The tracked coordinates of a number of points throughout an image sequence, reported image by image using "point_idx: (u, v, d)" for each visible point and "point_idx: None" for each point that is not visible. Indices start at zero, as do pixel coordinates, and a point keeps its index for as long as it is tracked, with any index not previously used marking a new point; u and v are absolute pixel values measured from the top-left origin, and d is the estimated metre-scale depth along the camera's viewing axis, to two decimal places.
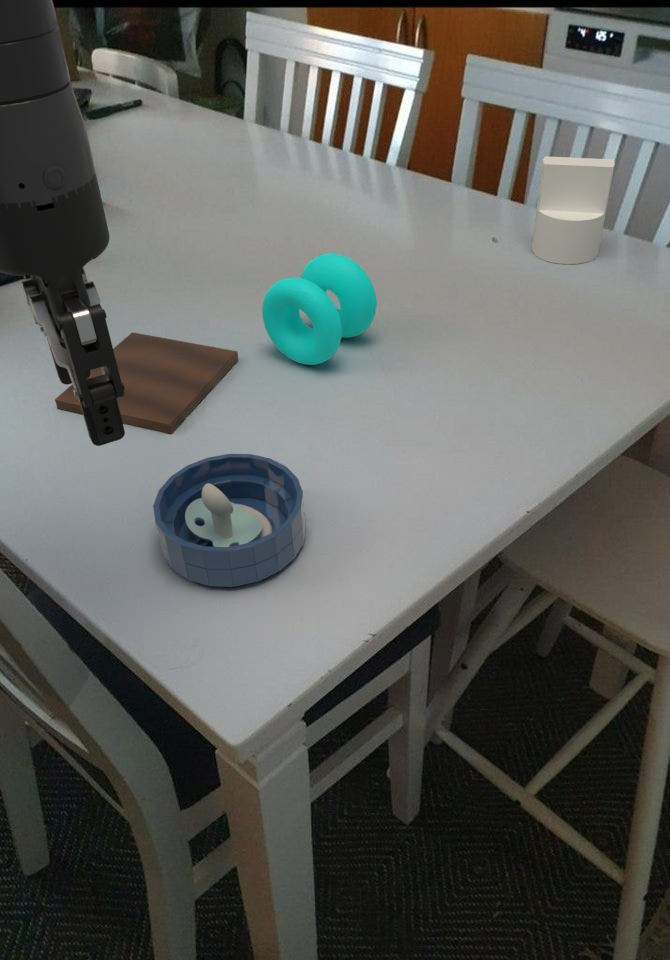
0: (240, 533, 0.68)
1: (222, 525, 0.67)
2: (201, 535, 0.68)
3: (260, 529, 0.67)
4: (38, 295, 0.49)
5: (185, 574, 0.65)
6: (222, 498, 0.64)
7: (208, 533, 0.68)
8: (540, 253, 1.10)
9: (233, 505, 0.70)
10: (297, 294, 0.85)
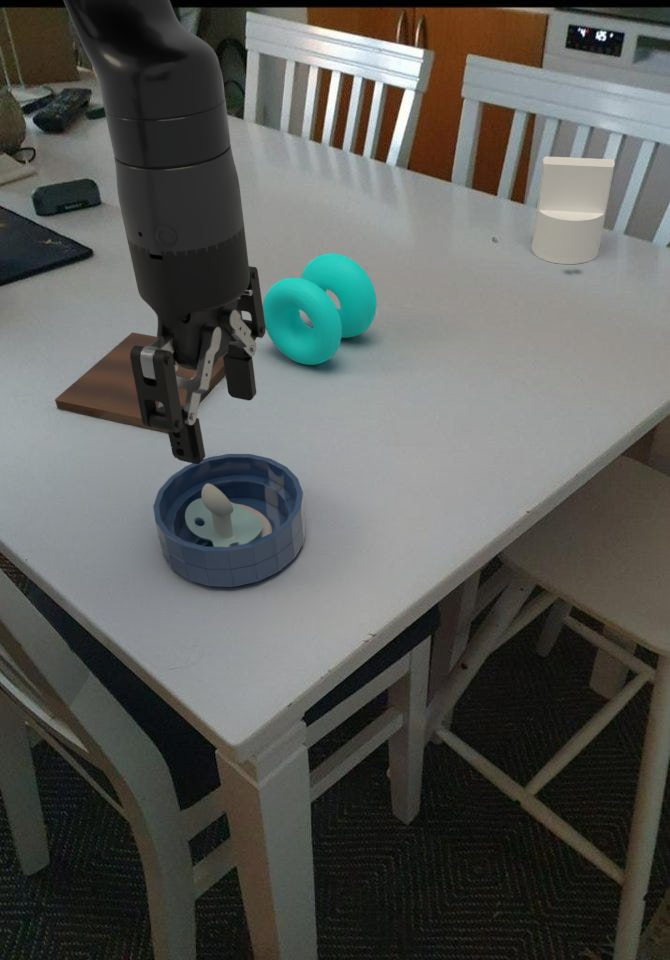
0: (240, 533, 0.68)
1: (222, 525, 0.67)
2: (201, 535, 0.68)
3: (260, 529, 0.67)
4: None
5: (185, 574, 0.65)
6: (222, 498, 0.64)
7: (208, 533, 0.68)
8: (540, 253, 1.10)
9: (233, 505, 0.70)
10: (297, 294, 0.85)
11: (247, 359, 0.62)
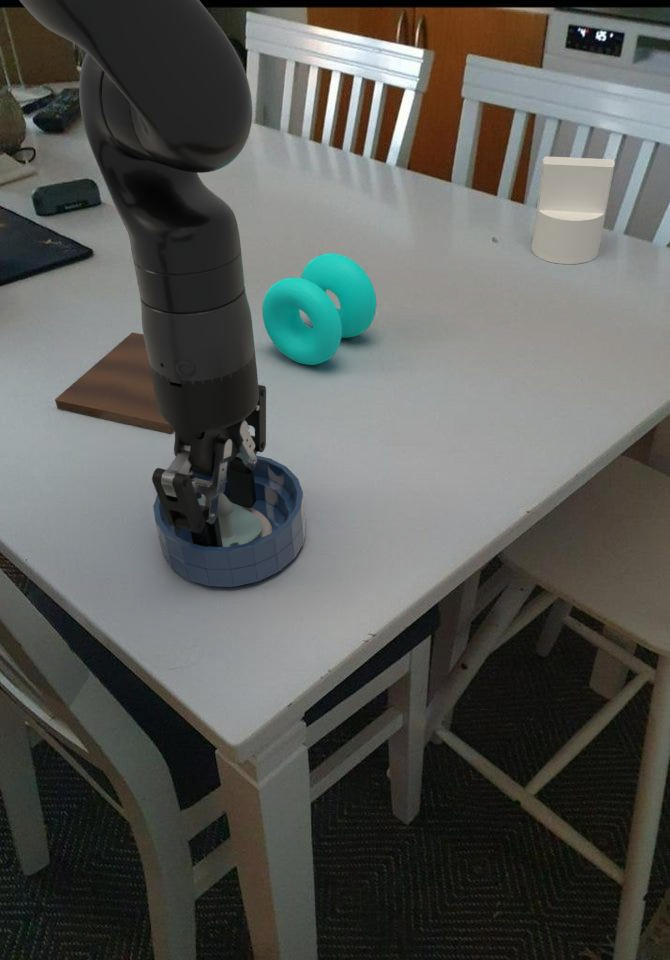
0: (240, 533, 0.68)
1: (222, 525, 0.67)
2: None
3: (260, 529, 0.67)
4: None
5: (185, 574, 0.65)
6: (222, 498, 0.64)
7: None
8: (540, 253, 1.10)
9: (233, 505, 0.70)
10: (297, 294, 0.85)
11: (248, 473, 0.67)
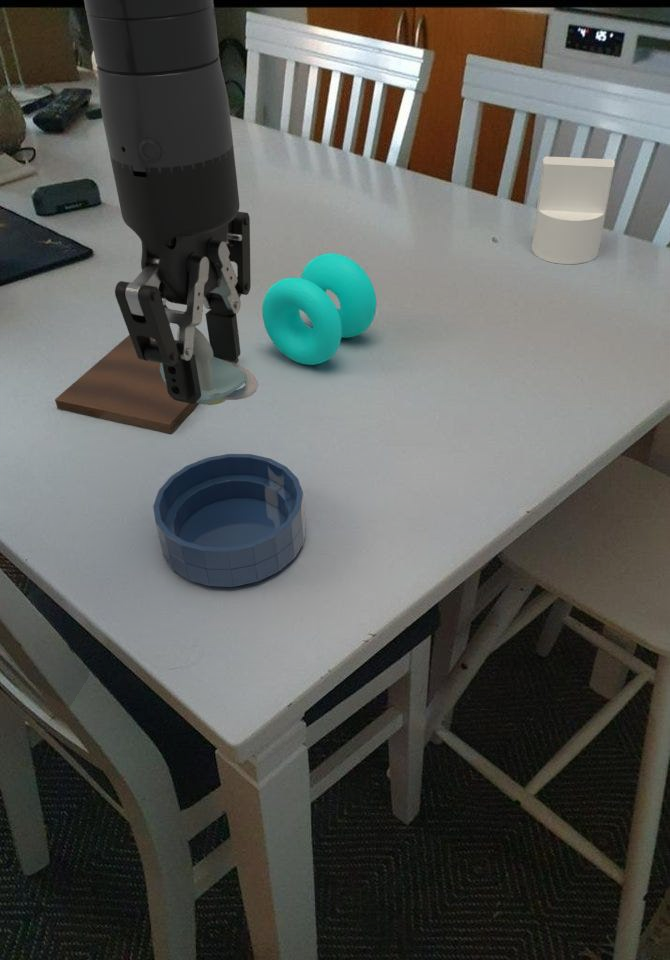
0: (222, 385, 0.60)
1: (201, 374, 0.59)
2: None
3: (244, 378, 0.59)
4: None
5: (185, 574, 0.65)
6: (200, 337, 0.57)
7: None
8: (540, 253, 1.10)
9: (214, 359, 0.62)
10: (297, 294, 0.85)
11: (231, 316, 0.60)
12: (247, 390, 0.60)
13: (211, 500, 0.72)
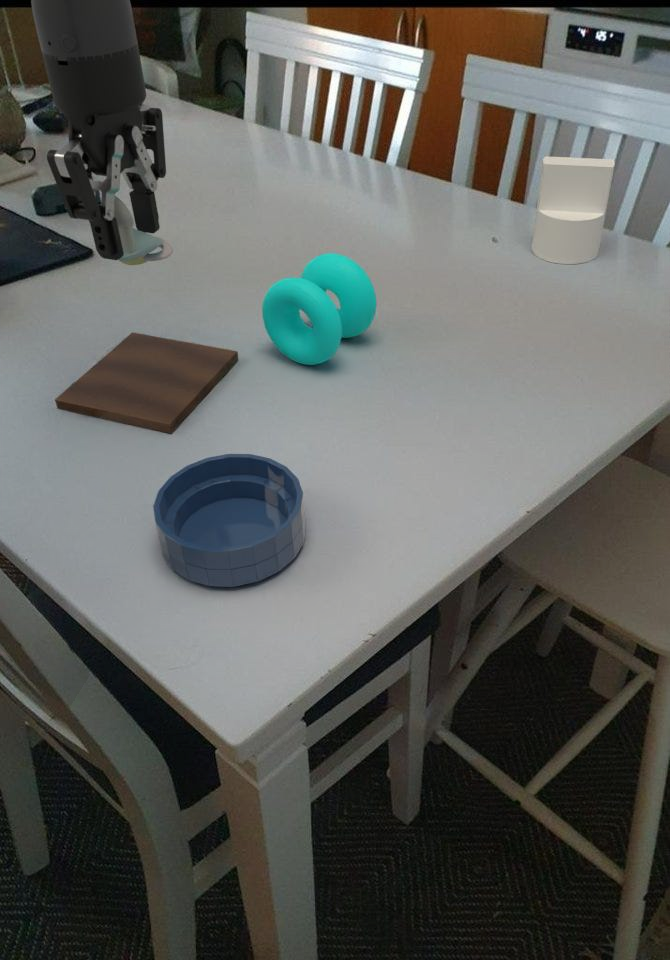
0: (143, 249, 0.75)
1: (125, 239, 0.74)
2: None
3: (159, 242, 0.74)
4: None
5: (185, 574, 0.65)
6: (121, 205, 0.72)
7: None
8: (540, 253, 1.10)
9: (139, 232, 0.77)
10: (297, 294, 0.85)
11: (149, 194, 0.75)
12: (163, 253, 0.75)
13: (211, 500, 0.72)
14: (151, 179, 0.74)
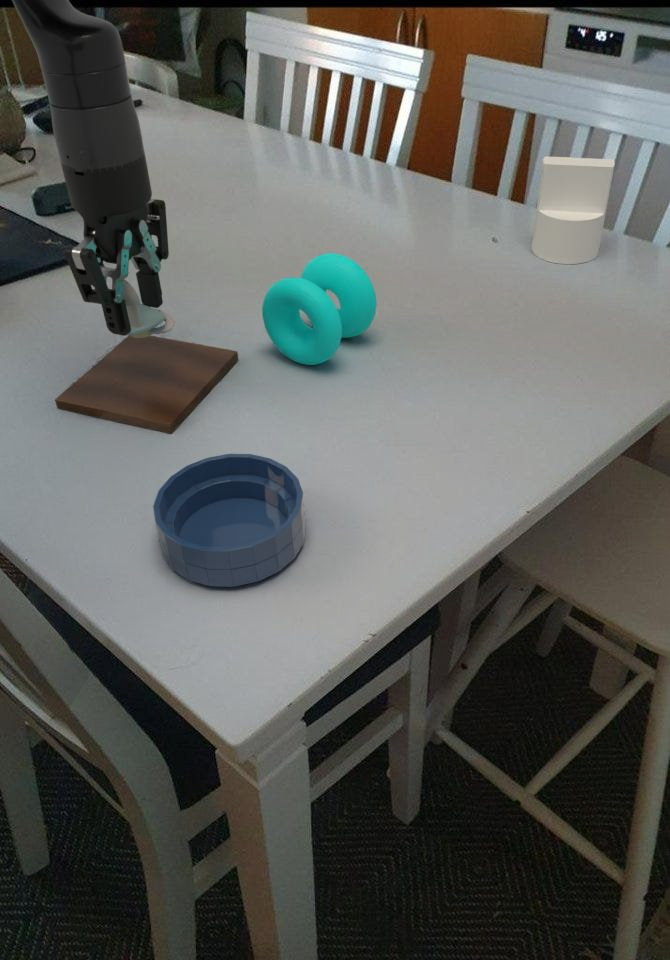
0: (148, 324, 0.84)
1: (132, 315, 0.83)
2: None
3: (163, 318, 0.83)
4: None
5: (185, 574, 0.65)
6: (129, 287, 0.80)
7: None
8: (540, 253, 1.10)
9: (144, 306, 0.86)
10: (297, 294, 0.85)
11: (153, 274, 0.83)
12: (166, 327, 0.84)
13: (211, 500, 0.72)
14: (155, 262, 0.83)
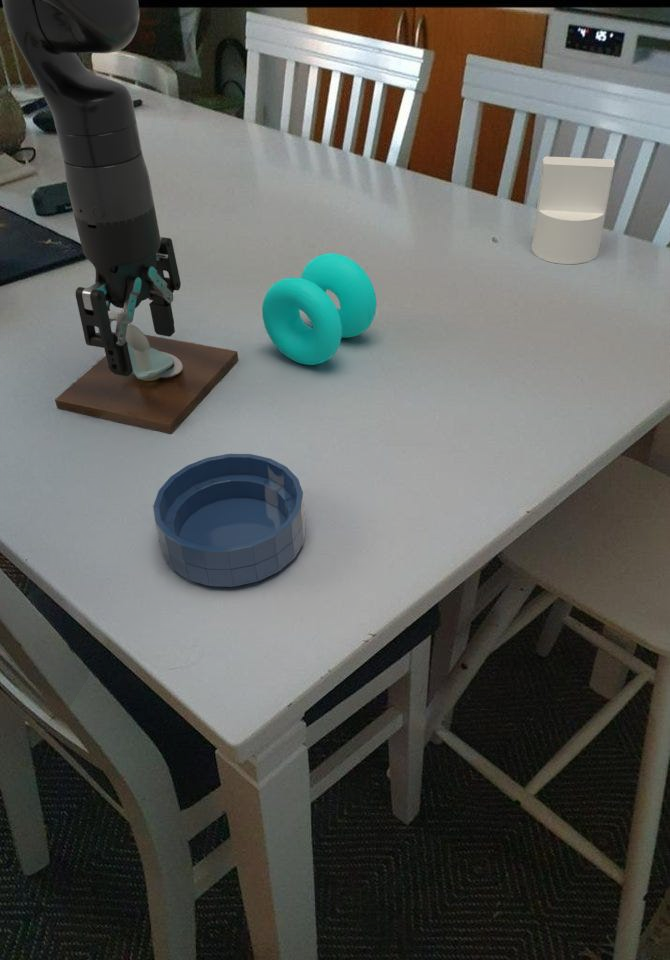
0: (157, 367, 0.87)
1: (142, 359, 0.86)
2: None
3: (171, 362, 0.86)
4: None
5: (185, 574, 0.65)
6: (140, 334, 0.84)
7: None
8: (540, 253, 1.10)
9: (153, 350, 0.89)
10: (297, 294, 0.85)
11: (166, 305, 0.87)
12: (175, 371, 0.87)
13: (211, 500, 0.72)
14: (168, 293, 0.86)
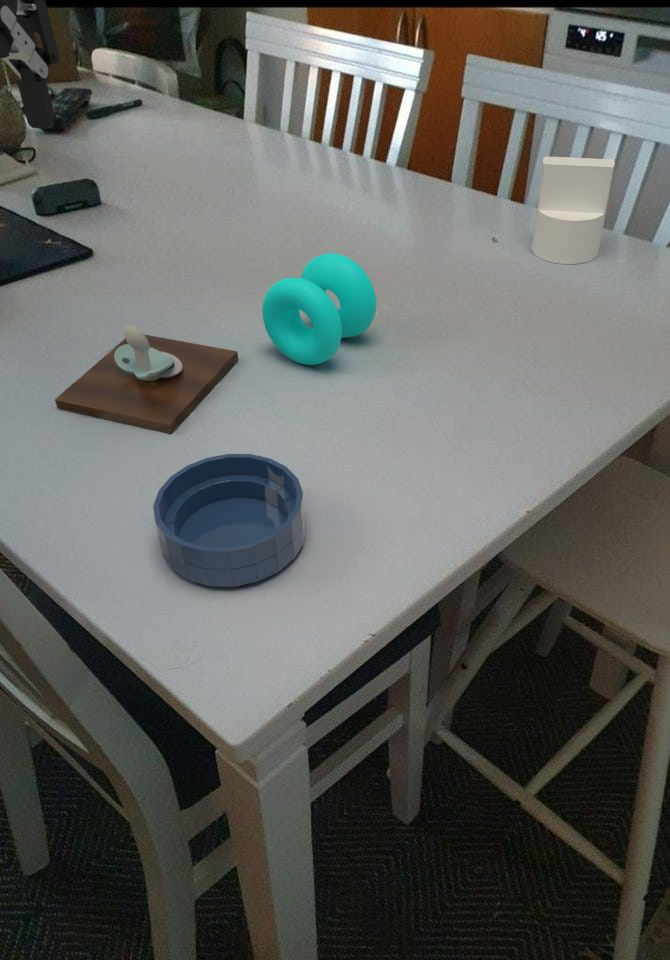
0: (157, 367, 0.87)
1: (142, 359, 0.86)
2: (127, 369, 0.87)
3: (171, 362, 0.86)
4: None
5: (185, 574, 0.65)
6: (140, 334, 0.84)
7: (132, 368, 0.87)
8: (540, 253, 1.10)
9: (153, 350, 0.89)
10: (297, 294, 0.85)
11: (38, 80, 0.66)
12: (175, 371, 0.87)
13: (211, 500, 0.72)
14: (40, 63, 0.65)
